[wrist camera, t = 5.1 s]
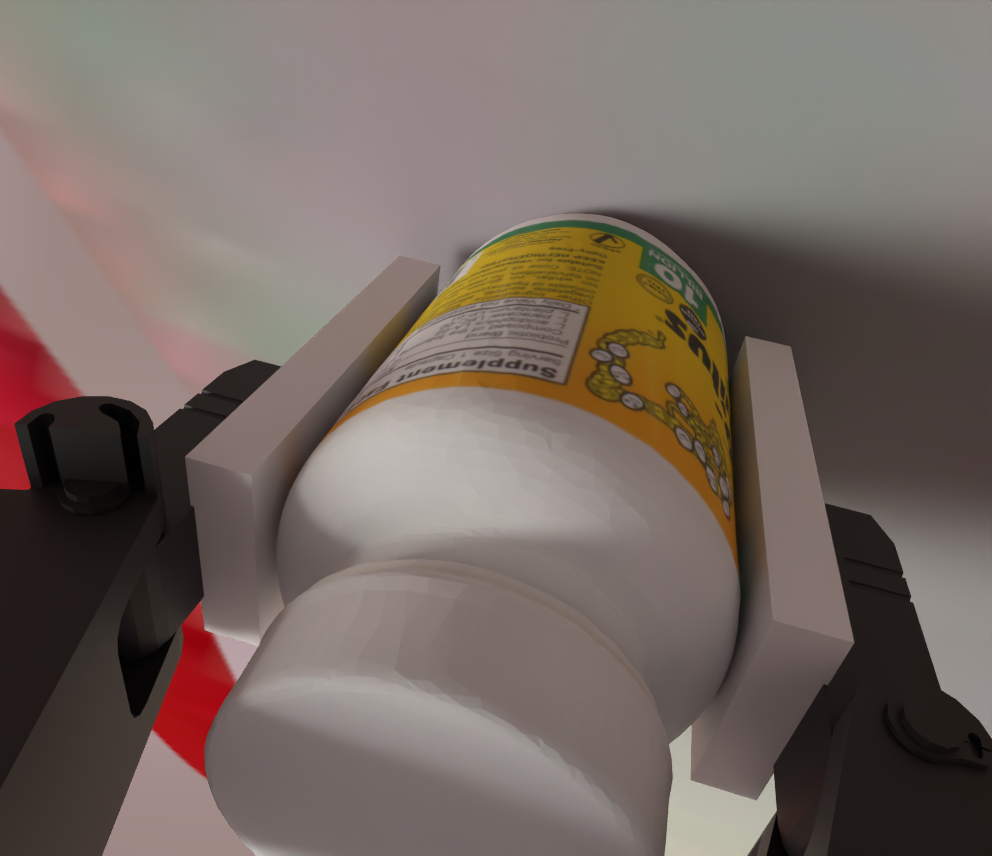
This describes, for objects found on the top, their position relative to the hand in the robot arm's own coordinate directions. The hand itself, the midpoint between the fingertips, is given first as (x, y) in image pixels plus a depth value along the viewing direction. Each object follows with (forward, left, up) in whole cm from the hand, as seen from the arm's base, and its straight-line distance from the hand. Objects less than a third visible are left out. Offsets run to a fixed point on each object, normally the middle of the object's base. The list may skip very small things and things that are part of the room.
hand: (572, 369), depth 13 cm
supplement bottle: (0, 0, -1) cm, 1 cm away
